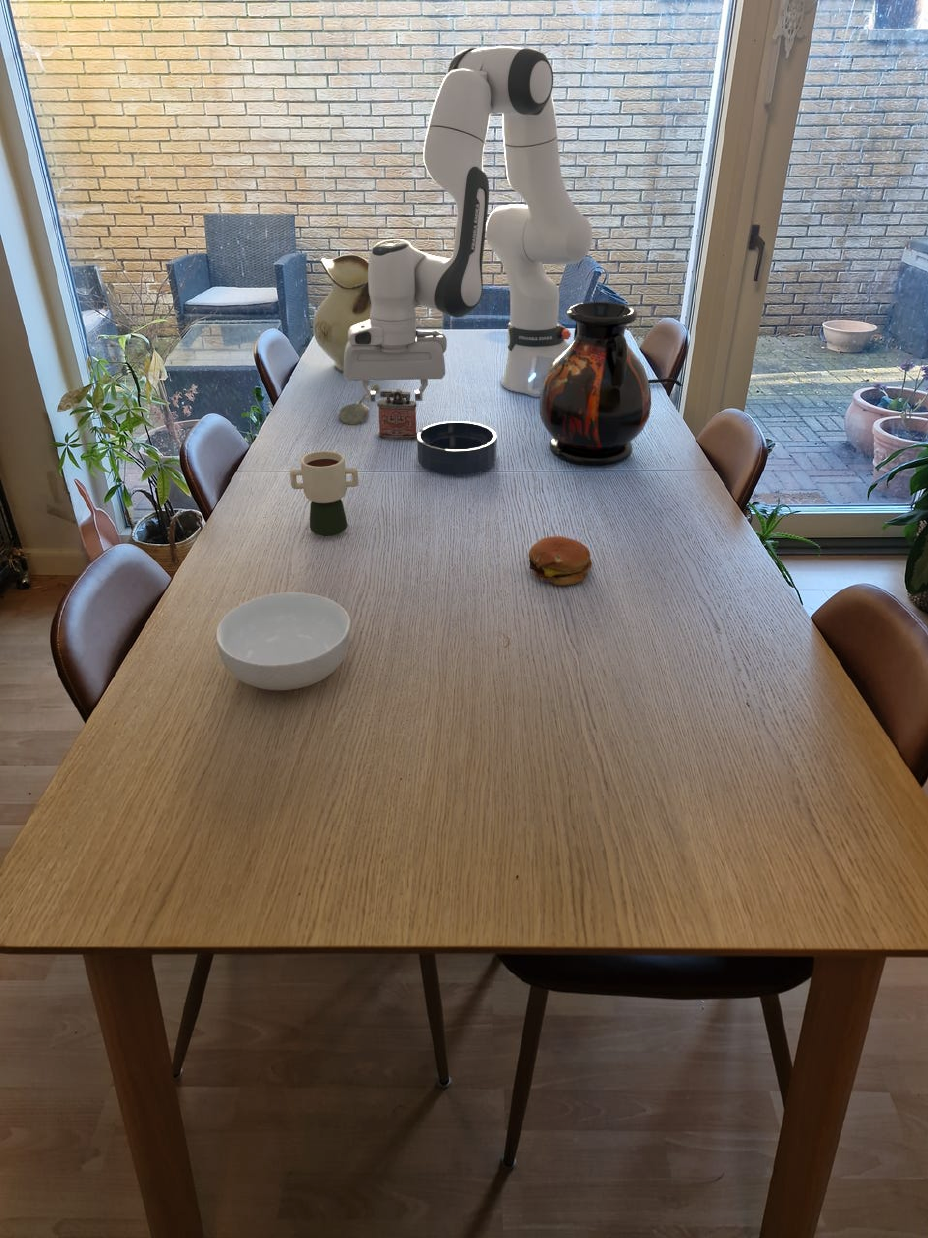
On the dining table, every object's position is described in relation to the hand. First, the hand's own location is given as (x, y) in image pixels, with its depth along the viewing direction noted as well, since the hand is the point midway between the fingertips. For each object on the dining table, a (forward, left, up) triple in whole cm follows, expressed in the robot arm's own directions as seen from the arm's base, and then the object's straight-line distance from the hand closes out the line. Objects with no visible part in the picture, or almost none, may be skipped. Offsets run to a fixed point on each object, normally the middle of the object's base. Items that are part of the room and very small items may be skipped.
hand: (395, 400), depth 179 cm
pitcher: (+7, -49, -8) cm, 50 cm away
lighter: (0, 0, -8) cm, 8 cm away
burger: (-23, +58, -8) cm, 63 cm away
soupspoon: (+7, -19, -8) cm, 22 cm away
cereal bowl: (+17, +80, -8) cm, 82 cm away
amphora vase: (-38, +12, -8) cm, 41 cm away
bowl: (-11, +14, -8) cm, 19 cm away
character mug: (+13, +41, -8) cm, 44 cm away
